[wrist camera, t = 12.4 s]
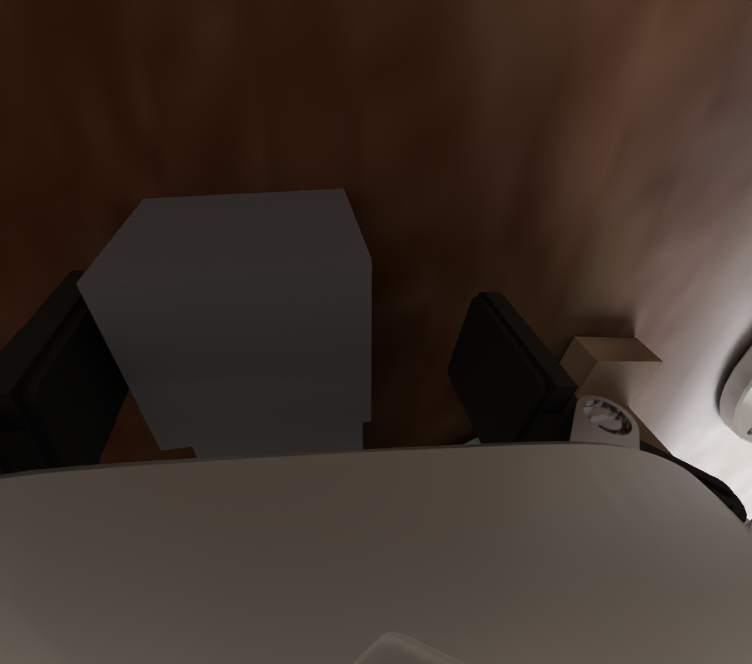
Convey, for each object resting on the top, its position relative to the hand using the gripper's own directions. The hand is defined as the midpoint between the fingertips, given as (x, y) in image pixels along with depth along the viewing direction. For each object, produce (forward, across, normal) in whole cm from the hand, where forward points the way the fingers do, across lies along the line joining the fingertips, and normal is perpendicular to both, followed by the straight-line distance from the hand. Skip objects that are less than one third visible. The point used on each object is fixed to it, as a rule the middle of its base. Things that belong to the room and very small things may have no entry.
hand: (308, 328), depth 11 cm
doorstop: (+2, +1, +4) cm, 5 cm away
